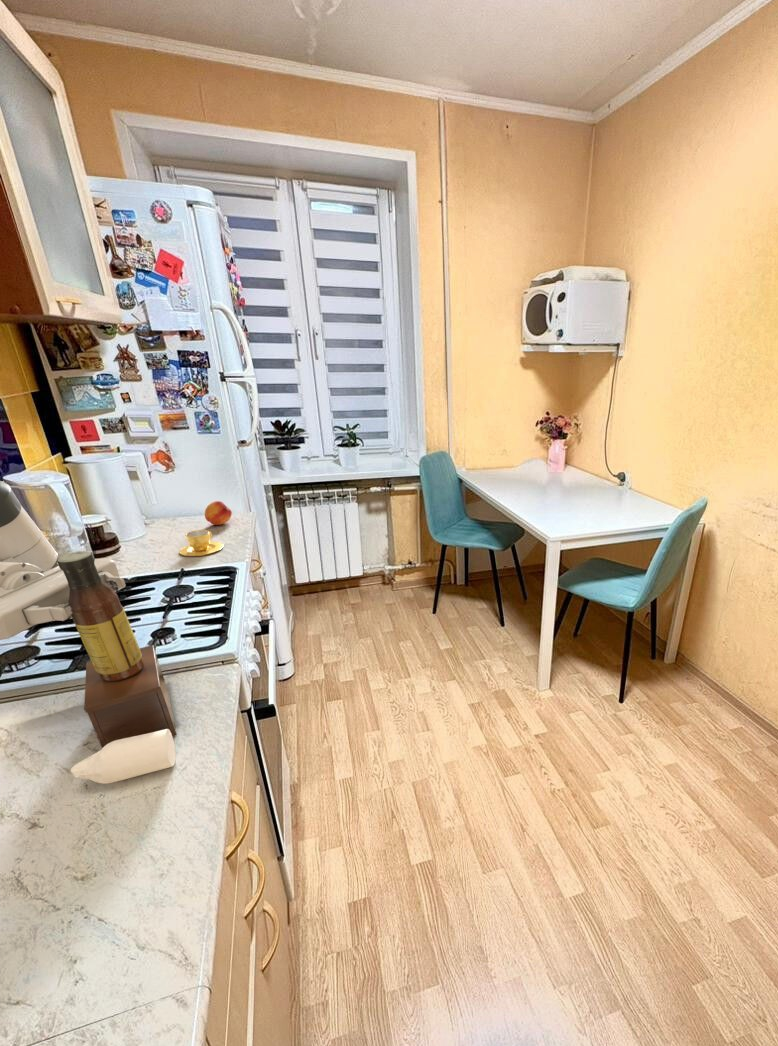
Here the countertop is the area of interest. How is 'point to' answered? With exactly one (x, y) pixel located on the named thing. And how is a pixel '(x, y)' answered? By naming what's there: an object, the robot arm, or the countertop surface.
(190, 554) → the cup
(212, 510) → the fruit
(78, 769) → the cream bottle
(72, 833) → the countertop surface
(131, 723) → the bread box
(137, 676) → the bread box lid
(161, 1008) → the countertop surface
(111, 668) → the sauce bottle
